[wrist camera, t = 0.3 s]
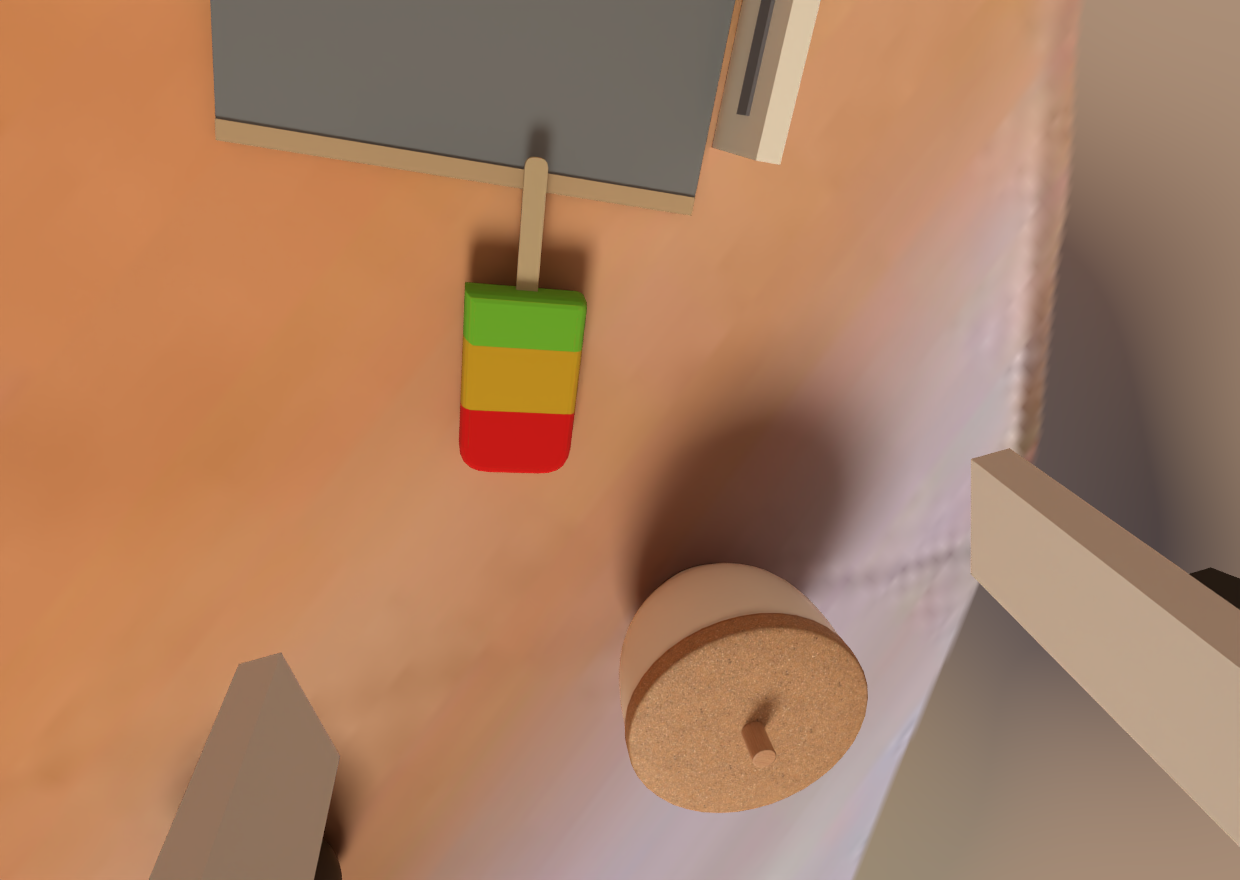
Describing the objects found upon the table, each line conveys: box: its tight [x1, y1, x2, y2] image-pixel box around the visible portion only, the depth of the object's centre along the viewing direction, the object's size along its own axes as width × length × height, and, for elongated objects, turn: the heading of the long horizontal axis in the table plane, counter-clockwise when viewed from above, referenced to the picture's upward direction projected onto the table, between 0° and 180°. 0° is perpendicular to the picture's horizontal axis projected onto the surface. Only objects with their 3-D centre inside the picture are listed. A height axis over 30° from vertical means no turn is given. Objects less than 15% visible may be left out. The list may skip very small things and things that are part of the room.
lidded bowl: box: [619, 563, 868, 813], centre depth 41 cm, size 13×13×11 cm
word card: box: [712, 0, 821, 165], centre depth 29 cm, size 1×10×6 cm, turn 170°
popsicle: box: [459, 157, 587, 473], centre depth 35 cm, size 6×15×2 cm, turn 173°
